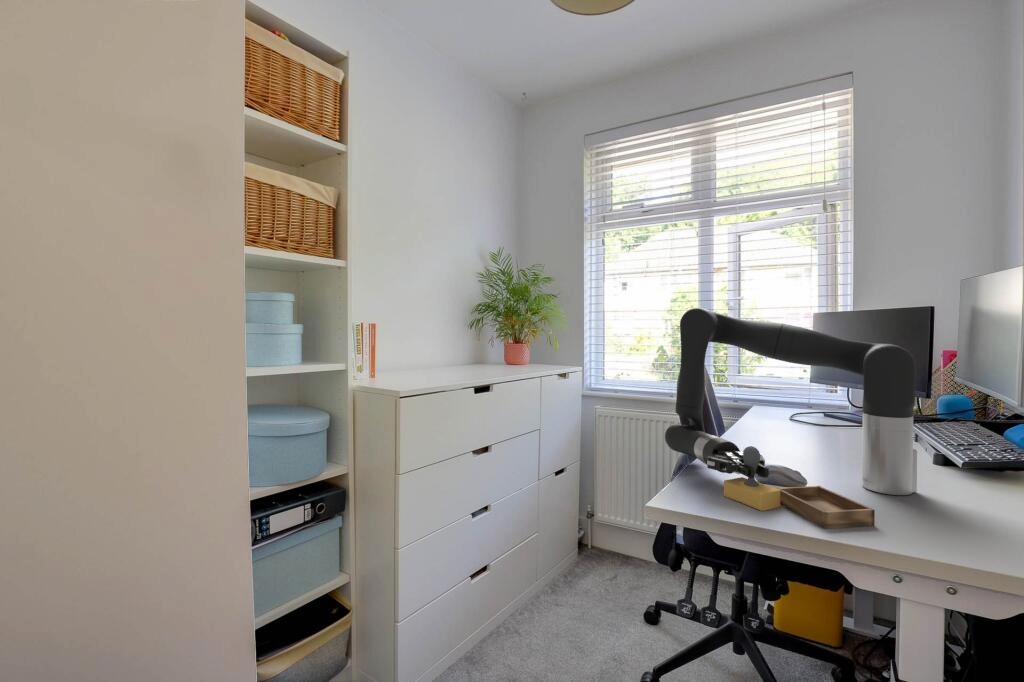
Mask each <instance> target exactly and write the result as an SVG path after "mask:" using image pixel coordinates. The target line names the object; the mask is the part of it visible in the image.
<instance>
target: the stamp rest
mask: <svg viewBox="0 0 1024 682" xmlns="http://www.w3.org/2000/svg"><path fill="white" fill-rule="evenodd" d="M775 488H776V489H779V490H780V506H782V507H784V508H786V509H788V510H789V511H791V512H793V513H795V514H797V515H799V516H800V517H802V518H804V519H806V520H808V521H810V522H812V523H813V524H815V525H817V526H819V527H820V528H822V529H824V530H825V529H840V528H857V527H858V528H859V527H872V526H874V527H875V526H876V525H875V523H876V522H875V520H876V519H875V517H876V516H875V511H876V510H875V509H873V508H872V507H869V506H867V505H864V504H862V503H860V502H858V501H856V500H853V499H851V498H848V497H846V496H843V495H842V494H839V493H836V492H834V491H832V490H829V489H827V488H825V487H823V486H821V485H809V486H790V487H788V486H786V487H775Z"/></svg>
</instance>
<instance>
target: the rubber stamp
mask: <svg viewBox="0 0 1024 682" xmlns="http://www.w3.org/2000/svg"><path fill="white" fill-rule="evenodd" d="M742 452H743V460H744V464H746V465H748V466H750V467H753V468H754V478H748V477H743V476H741V477H736V478H730V479H725V480H723V497H724V496H725V497H724V498H727V497H728V498H727V499H729V498H731V499H730V500H732V499H733V500H732V501H734V500H736V501H735V502H737V501H738V503H739V502H741V503H740V504H742V503H743V505H745V504H746V505H745V506H747V505H748V506H747V507H750V506H751V507H750V508H752V507H753V508H752V509H755V510H757V509H758V511H761V512H764V511H769V510H773V509H778V508H781V505H780V490H779V489H776V488H777V487H772V486H769V485H767V484H764V483H761V482H758V481H757V479H756V477H755V475H756V474H755V472H756V470H757V467H758V465H759V462H760V455H761V453H760V451H759V450H758V448H757V447H755V446H751V445H749V446H746V447H745V448H744V449H743V451H742Z"/></svg>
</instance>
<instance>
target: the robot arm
mask: <svg viewBox="0 0 1024 682" xmlns="http://www.w3.org/2000/svg"><path fill="white" fill-rule="evenodd" d="M679 332H680V366H679V367H680V368H679V376H678V377H679V378H678V385H677V393H676V399H675V409H674V410H675V413H676V414H677V415H678V416H679V417H683V418H687V419H688V421H689V424H688V425H687V424H672V425H670V426H668V427H667V429H666V430H665V433H664V441H665V443H666V445H667V447H668V448H670V449H671V450H672V451H675V452H677V453H679V454H680V453H681V454H684V455H689V456H692V457H694V458H696V459H698V460H699V461H700V462H701V463H703V464H704V465H706V466H707V467H706V468H708V469H709V470H714V471H717V472H720V473H723V474H729V475H731V474H737V475H742V476H745V478H747V479H748V478H754V468H753V467H750V466H748V465H746V464H744V460H743V451H741V450H740V449H739V447H738V446H737V445H736V444H735V443H734V442H731V441H730V440H727V439H724V438H722V437H719V436H718V435H712V434H709V433H707V432H706V430H705V424H704V416H703V408H704V401H705V400H704V399H705V392H706V391H705V390H706V389H705V388H706V379H705V373H706V372H705V363H706V355H707V348H708V346H709V343H716V344H723V345H729V346H734V347H736V348H741V349H743V350H746V351H748V352H750V353H753V354H755V355H756V354H757V355H758V356H761V357H765V358H768V359H772V360H778V361H780V362H785V363H790V364H796V365H802V366H812V367H824V368H833V369H838V370H842V371H846V372H849V373H853V374H856V375H859V376H863V394H862V395H863V397H862V437H861V438H862V443H861V444H862V445H861V446H862V450H861V451H862V455H861V457H862V458H861V459H862V461H861V468H862V469H861V471H862V472H861V475H862V477H861V480H862V482H861V484H862V487H864V489H867V490H869V491H873V492H876V493H880V494H884V495H885V494H886V495H892V496H893V495H894V496H909V495H912V494H913V493H917V491H918V450H917V449H915V448H914V412H915V411H914V408H915V405H916V404H915V403H916V382H917V379H916V378H917V367H916V360H915V358H914V356H913V355H912V353H911V352H910V351H908V350H907V349H906V348H904V347H902V346H900V345H896V344H893V343H892V344H891V343H878V342H877V343H876V342H865V341H857V340H850V339H845V338H840V337H837V336H833V335H829V334H827V333H824V332H820V331H817V330H814V329H809V328H806V327H802V326H797V325H792V324H786V323H780V322H774V321H766V320H765V321H764V320H751V319H750V320H749V319H741V318H736V317H732V316H728V315H724V314H722V313H719V312H715V311H712V310H710V309H707V308H702V307H693V308H689V309H688V310H687V311H685V312H684V314H683V315H682V316H681V318H680V321H679ZM769 472H770V470H769V468H768V467H767V466H766V460H765V458H764V456H763V455H762V454H760V462H759V465H758V467H757V470H756V472H755V475H758V476H760V477H762V478H763V479H764V478H765V479H766V478H768V477H769V475H770V474H769Z"/></svg>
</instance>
